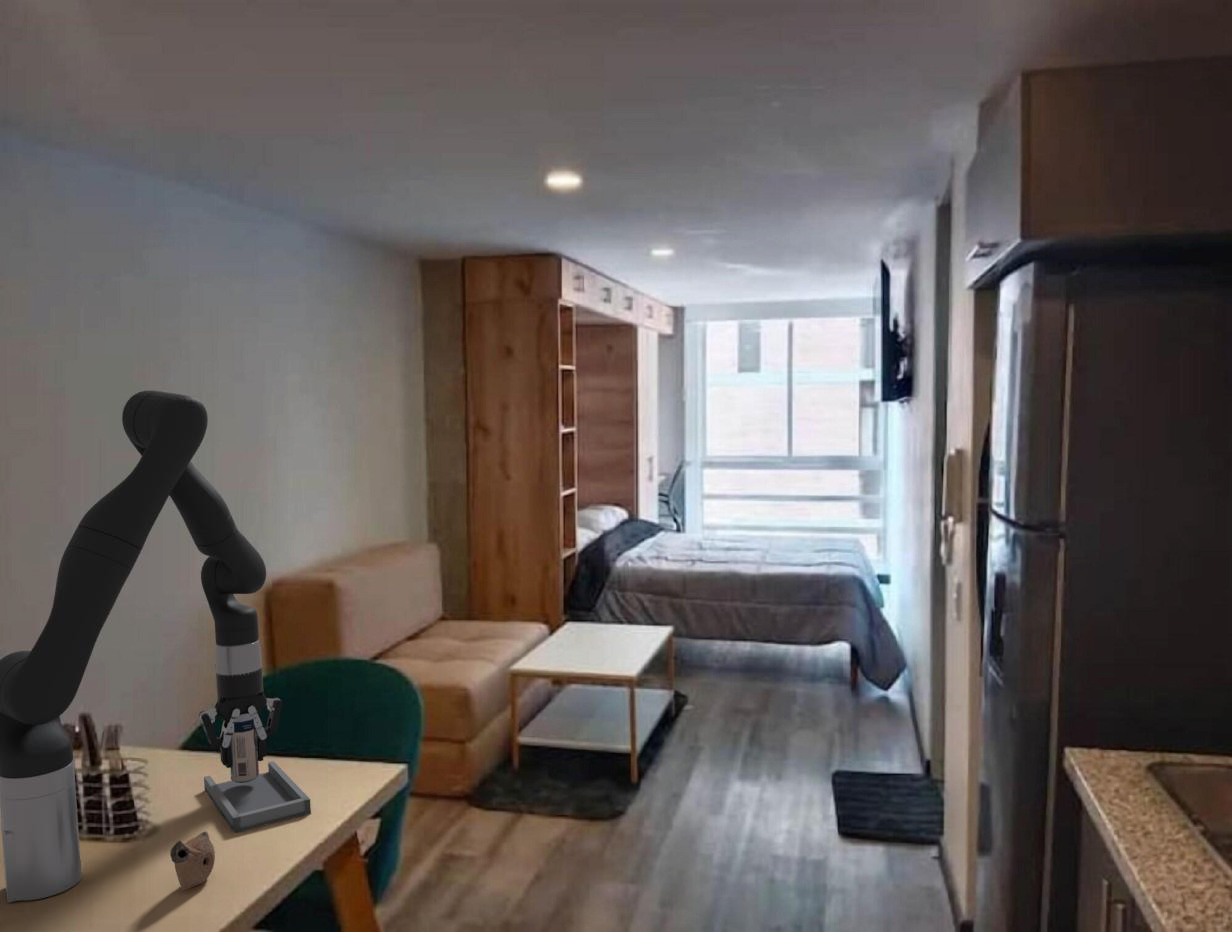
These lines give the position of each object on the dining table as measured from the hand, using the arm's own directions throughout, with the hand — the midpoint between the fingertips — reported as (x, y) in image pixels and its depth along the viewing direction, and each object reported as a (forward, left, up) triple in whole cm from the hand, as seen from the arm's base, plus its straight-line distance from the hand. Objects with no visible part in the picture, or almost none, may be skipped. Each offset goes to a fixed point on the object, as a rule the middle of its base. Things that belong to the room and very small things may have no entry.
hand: (244, 762), depth 172 cm
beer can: (0, 0, -3) cm, 3 cm away
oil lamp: (-15, -32, -5) cm, 36 cm away
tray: (0, -6, -5) cm, 8 cm away
